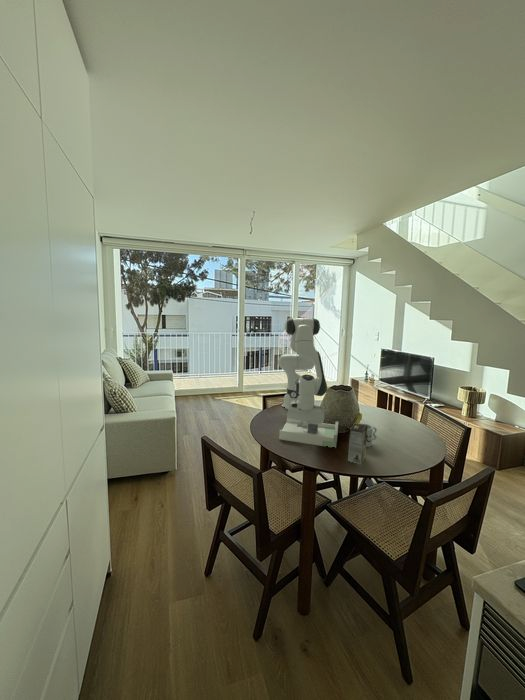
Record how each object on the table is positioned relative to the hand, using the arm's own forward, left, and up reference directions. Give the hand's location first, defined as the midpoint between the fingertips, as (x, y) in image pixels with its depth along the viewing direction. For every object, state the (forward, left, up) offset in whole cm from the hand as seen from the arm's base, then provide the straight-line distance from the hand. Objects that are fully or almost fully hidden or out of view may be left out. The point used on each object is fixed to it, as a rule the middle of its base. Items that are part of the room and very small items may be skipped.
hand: (304, 428), depth 170 cm
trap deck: (0, +3, -4) cm, 5 cm away
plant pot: (-21, +26, -5) cm, 34 cm away
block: (0, +4, -1) cm, 5 cm away
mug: (-1, +33, -5) cm, 33 cm away
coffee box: (+19, +28, -5) cm, 34 cm away
